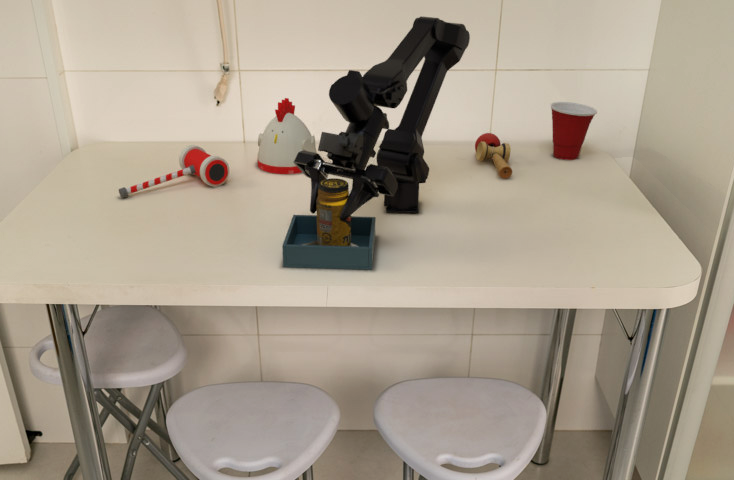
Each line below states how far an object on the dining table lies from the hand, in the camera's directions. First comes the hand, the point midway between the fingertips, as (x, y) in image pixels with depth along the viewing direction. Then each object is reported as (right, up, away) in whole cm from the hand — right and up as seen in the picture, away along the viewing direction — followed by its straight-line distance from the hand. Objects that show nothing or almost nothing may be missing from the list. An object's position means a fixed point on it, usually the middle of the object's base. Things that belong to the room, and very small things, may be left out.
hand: (326, 216), depth 135 cm
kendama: (+38, +19, +46) cm, 62 cm away
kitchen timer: (-11, +19, +47) cm, 52 cm away
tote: (+1, -6, +5) cm, 7 cm away
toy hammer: (-33, +12, +35) cm, 49 cm away
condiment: (0, -5, +5) cm, 7 cm away
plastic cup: (+56, +23, +53) cm, 80 cm away
